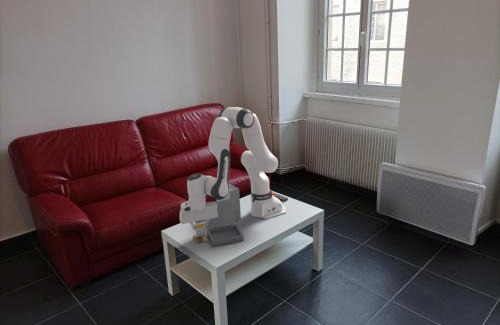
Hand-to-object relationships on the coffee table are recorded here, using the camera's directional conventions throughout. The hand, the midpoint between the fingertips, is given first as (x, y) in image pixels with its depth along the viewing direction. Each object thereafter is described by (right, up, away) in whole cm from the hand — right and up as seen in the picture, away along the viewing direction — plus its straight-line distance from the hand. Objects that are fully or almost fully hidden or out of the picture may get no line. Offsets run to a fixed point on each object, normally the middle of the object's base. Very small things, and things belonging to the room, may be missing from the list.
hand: (200, 227), depth 196 cm
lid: (+10, +6, +8) cm, 14 cm away
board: (0, -7, +2) cm, 7 cm away
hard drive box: (+14, +2, +27) cm, 31 cm away
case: (+13, -6, +2) cm, 15 cm away
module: (0, -3, +1) cm, 4 cm away
